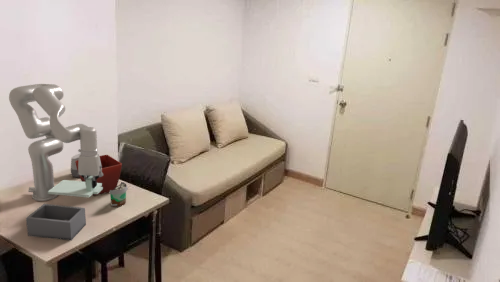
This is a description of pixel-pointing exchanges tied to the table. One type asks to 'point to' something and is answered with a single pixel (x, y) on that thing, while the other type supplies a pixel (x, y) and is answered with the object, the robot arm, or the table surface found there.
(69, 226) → the parts tub
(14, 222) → the table surface
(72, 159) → the smart speaker
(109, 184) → the plant pot
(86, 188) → the lid
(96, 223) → the table surface
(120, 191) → the food container
